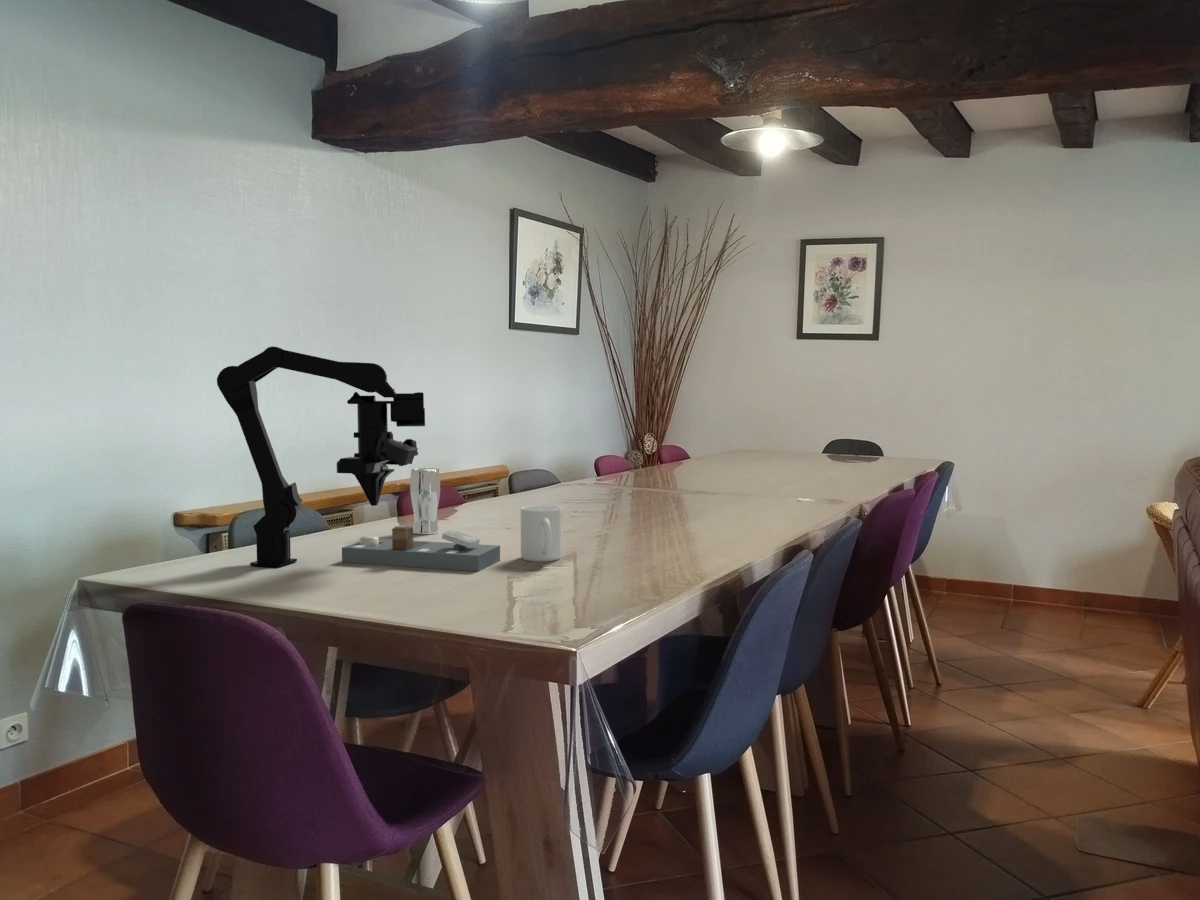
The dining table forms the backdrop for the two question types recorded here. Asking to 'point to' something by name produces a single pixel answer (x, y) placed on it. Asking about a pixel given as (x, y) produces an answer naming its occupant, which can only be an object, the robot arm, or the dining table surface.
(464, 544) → the rocker paddle
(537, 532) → the mug
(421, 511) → the beer glass
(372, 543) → the white rounded cube
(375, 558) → the console
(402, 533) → the slider knob
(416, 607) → the dining table surface
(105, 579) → the dining table surface
